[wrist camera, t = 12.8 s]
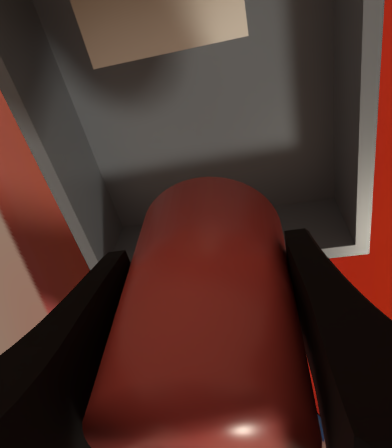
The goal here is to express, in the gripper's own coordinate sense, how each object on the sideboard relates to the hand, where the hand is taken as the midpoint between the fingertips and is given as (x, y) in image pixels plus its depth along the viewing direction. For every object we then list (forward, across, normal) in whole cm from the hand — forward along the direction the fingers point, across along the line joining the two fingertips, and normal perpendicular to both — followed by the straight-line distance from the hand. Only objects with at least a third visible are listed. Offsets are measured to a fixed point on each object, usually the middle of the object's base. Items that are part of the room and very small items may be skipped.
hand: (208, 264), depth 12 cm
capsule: (+2, 0, 0) cm, 2 cm away
